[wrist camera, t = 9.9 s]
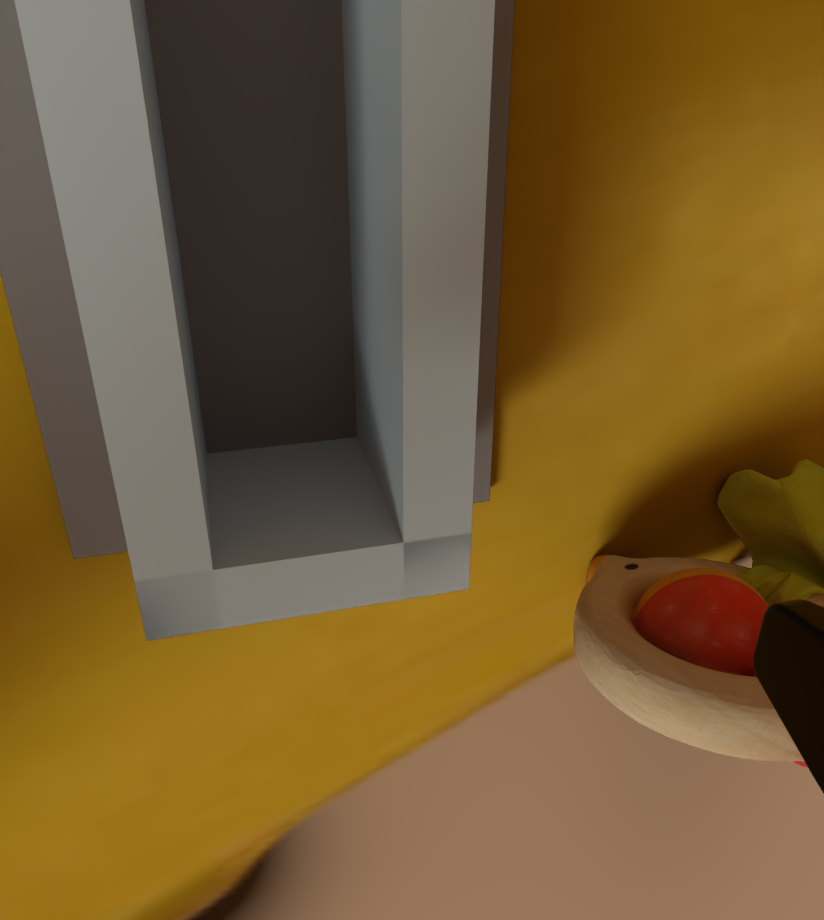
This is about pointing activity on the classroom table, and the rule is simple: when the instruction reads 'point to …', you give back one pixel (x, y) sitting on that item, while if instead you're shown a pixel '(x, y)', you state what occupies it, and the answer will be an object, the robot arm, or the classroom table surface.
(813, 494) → the bird rattle
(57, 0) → the c link
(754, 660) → the robot arm
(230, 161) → the mat
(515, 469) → the classroom table surface
